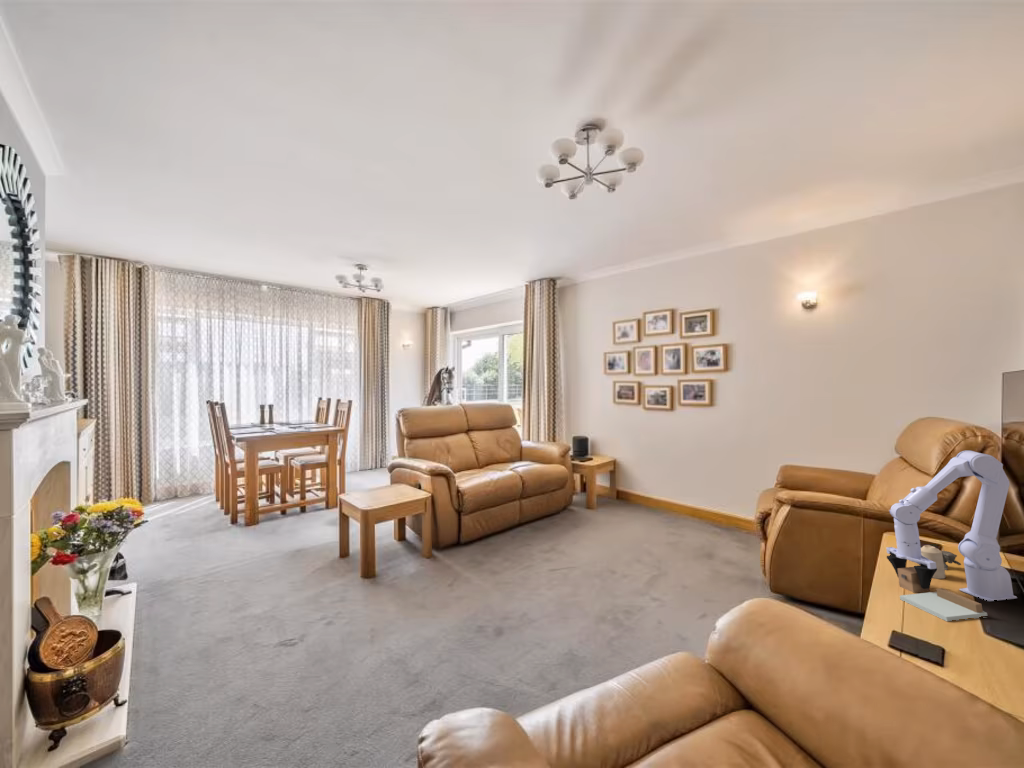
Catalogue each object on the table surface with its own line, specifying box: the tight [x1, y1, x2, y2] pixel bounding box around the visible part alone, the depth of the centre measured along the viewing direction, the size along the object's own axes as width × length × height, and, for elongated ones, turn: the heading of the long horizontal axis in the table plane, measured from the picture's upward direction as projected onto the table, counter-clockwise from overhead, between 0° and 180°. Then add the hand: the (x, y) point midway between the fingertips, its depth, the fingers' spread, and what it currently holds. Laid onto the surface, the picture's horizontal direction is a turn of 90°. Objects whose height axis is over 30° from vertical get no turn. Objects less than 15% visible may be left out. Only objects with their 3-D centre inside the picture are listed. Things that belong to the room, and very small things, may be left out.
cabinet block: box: [897, 566, 931, 594], centre depth 135 cm, size 6×4×6 cm
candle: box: [921, 544, 946, 580], centre depth 143 cm, size 6×6×10 cm
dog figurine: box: [918, 545, 962, 571], centre depth 149 cm, size 12×6×7 cm, turn 45°
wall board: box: [899, 587, 988, 622], centre depth 123 cm, size 12×14×3 cm
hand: (913, 583), depth 135 cm, fingers open, 7 cm apart
